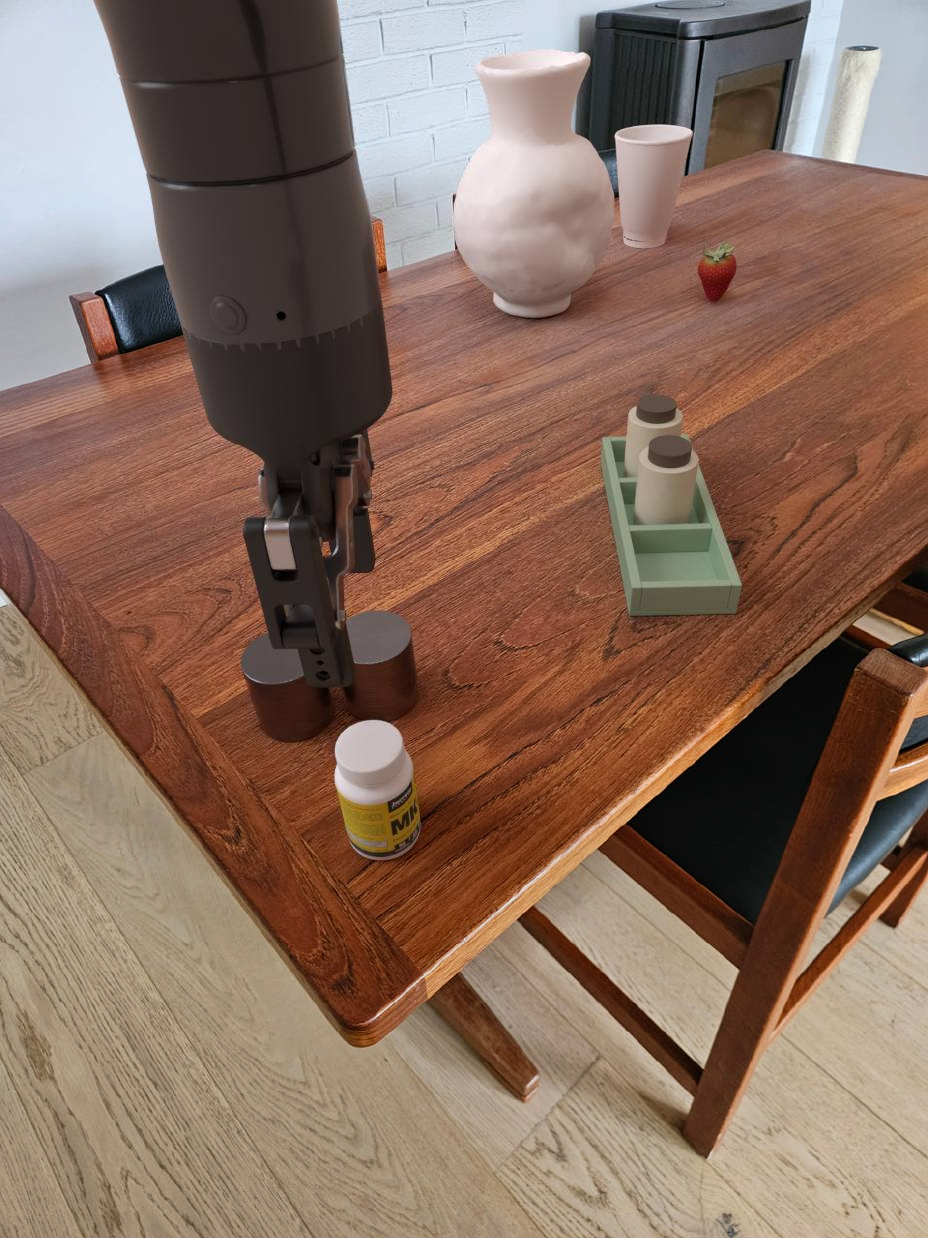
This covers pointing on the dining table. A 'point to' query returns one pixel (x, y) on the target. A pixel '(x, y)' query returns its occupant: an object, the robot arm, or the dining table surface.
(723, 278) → the fruit
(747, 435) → the dining table surface
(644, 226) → the cup
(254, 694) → the grey tin
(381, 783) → the supplement bottle
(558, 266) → the vase
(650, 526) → the rack
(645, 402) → the cream bottle
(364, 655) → the grey tin
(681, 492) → the cream bottle
